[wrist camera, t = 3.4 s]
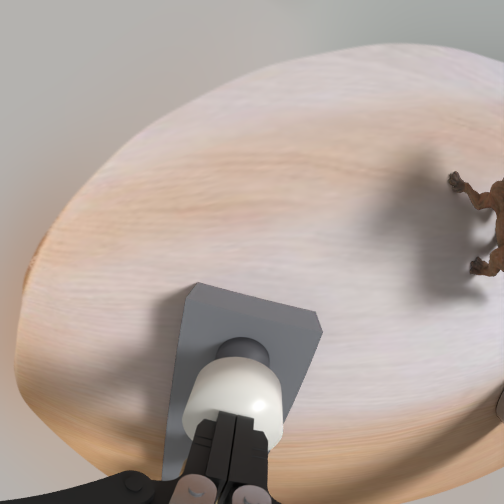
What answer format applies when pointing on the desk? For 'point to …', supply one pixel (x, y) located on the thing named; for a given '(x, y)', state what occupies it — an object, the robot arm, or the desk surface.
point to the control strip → (235, 351)
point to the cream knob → (237, 396)
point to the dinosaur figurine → (499, 199)
